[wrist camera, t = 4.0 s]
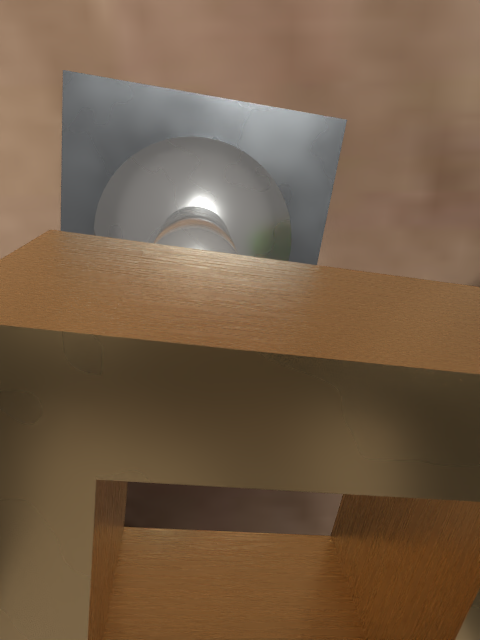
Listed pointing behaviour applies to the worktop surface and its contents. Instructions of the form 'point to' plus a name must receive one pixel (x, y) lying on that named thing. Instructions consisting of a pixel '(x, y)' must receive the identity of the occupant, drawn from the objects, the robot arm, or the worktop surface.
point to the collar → (234, 444)
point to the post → (195, 169)
